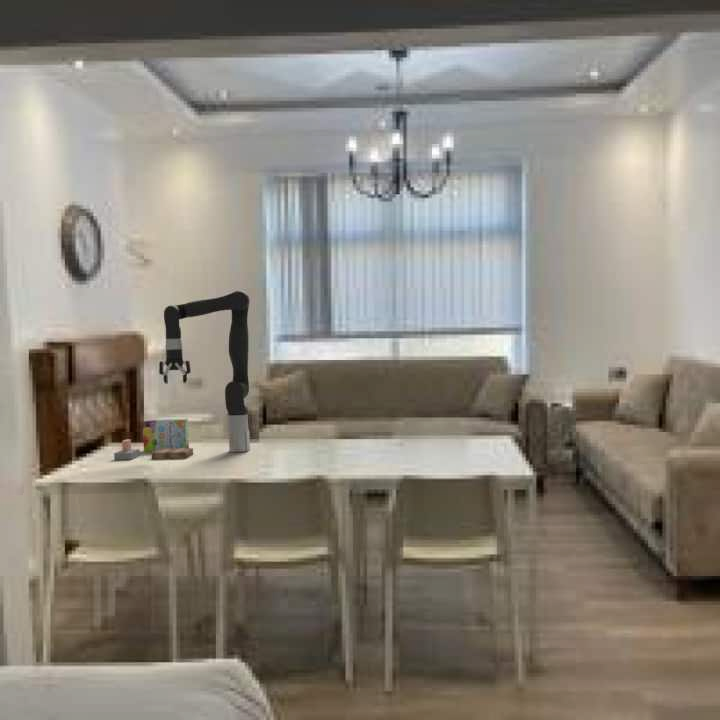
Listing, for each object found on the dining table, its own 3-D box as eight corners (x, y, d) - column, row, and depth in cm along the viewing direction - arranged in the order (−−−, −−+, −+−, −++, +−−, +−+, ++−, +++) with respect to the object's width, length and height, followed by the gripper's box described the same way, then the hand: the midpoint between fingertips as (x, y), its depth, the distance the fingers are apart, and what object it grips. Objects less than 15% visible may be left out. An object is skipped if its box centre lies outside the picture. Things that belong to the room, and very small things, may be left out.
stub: (139, 455, 427) (138, 438, 427) (131, 459, 415) (130, 441, 415) (122, 455, 428) (122, 438, 428) (114, 459, 416) (113, 442, 416)
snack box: (189, 449, 445) (188, 418, 444) (186, 450, 439) (185, 419, 438) (147, 449, 447) (145, 419, 446) (143, 451, 441) (141, 420, 440)
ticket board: (193, 454, 426) (192, 447, 426) (186, 458, 414) (186, 451, 414) (159, 455, 427) (158, 448, 427) (151, 459, 415) (151, 452, 415)
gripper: (191, 347, 431) (192, 382, 432) (161, 348, 432) (162, 383, 433) (187, 348, 424) (188, 383, 424) (156, 349, 425) (158, 384, 425)
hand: (175, 383), depth 429 cm, fingers open, 8 cm apart
